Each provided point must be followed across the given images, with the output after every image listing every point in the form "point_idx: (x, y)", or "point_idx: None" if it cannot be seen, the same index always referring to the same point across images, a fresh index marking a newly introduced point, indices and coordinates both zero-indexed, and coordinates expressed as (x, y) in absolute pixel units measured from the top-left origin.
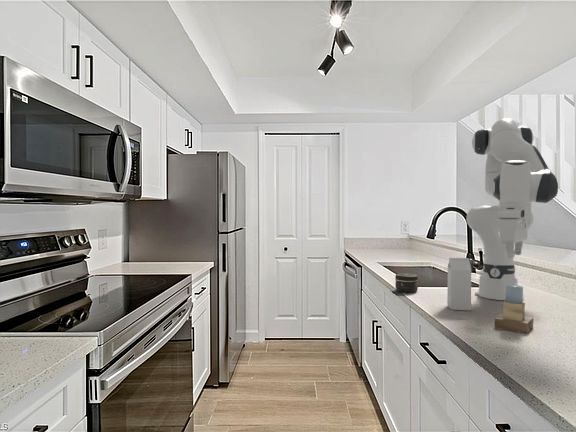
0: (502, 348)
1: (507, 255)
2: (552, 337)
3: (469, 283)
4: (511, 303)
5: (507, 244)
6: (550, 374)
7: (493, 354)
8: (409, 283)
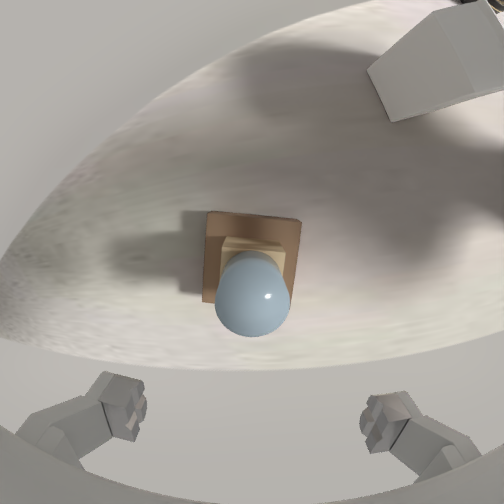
0: (60, 256)
1: (100, 379)
2: (207, 340)
3: (437, 97)
4: (220, 274)
5: (26, 437)
6: (16, 323)
7: (27, 247)
8: None
